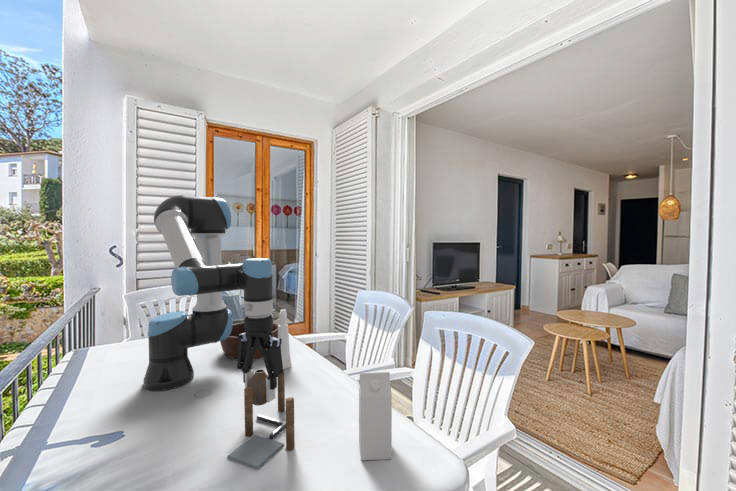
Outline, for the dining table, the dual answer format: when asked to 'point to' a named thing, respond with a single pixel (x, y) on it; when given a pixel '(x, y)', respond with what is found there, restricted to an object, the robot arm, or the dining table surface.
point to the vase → (258, 387)
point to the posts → (281, 407)
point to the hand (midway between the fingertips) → (260, 397)
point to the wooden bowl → (232, 341)
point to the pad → (255, 451)
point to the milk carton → (375, 416)
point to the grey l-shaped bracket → (274, 422)
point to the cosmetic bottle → (284, 339)
